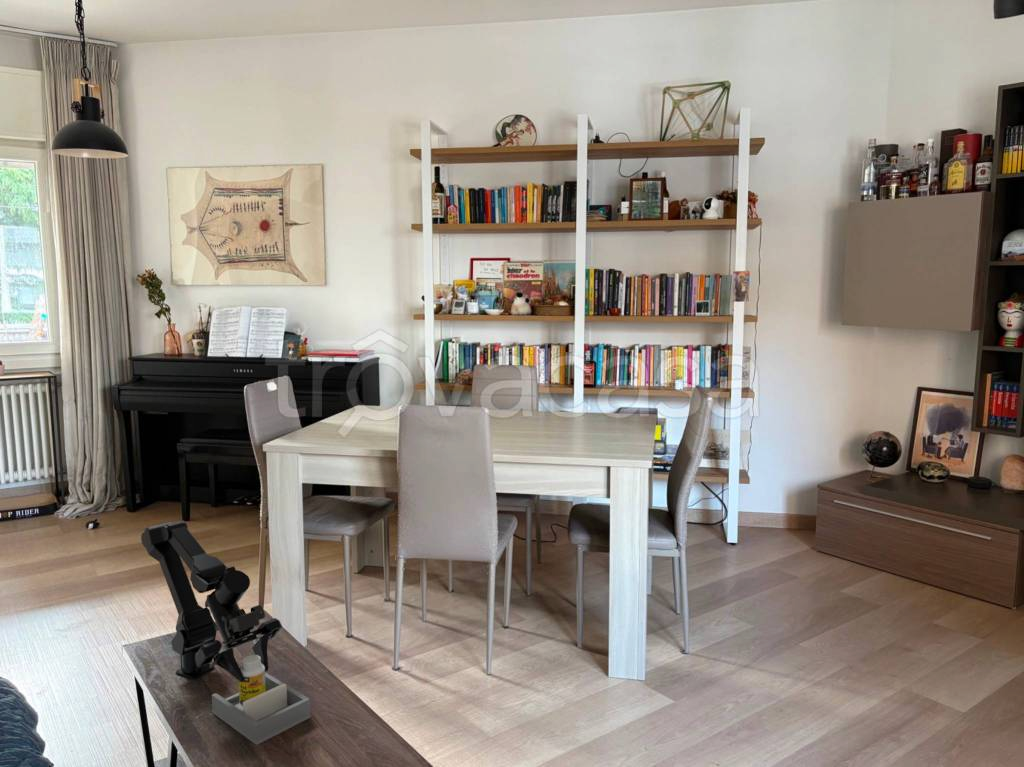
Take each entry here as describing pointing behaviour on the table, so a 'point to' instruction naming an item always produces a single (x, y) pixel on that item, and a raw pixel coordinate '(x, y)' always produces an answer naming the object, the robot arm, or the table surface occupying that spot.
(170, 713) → the table surface
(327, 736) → the table surface
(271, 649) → the table surface
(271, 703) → the pusher plate
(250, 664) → the supplement bottle
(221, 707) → the pusher lane
